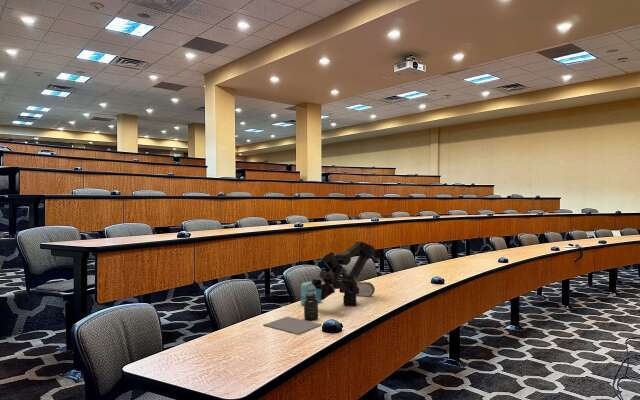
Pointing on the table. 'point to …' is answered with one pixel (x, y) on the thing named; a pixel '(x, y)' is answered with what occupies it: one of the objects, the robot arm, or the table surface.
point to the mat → (292, 325)
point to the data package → (309, 291)
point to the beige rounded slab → (365, 289)
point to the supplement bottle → (310, 307)
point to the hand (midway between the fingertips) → (321, 299)
